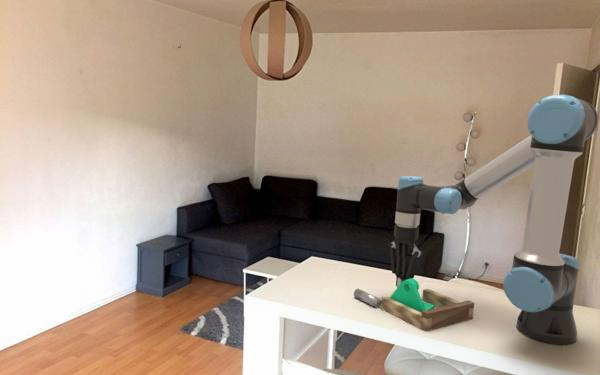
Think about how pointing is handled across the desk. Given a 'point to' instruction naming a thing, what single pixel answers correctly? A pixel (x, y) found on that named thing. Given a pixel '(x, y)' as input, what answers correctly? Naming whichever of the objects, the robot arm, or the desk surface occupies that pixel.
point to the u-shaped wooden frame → (431, 311)
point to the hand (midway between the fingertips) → (400, 297)
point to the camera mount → (410, 296)
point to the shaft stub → (367, 298)
